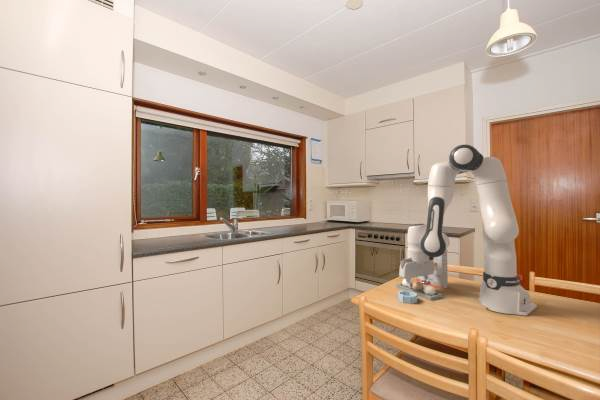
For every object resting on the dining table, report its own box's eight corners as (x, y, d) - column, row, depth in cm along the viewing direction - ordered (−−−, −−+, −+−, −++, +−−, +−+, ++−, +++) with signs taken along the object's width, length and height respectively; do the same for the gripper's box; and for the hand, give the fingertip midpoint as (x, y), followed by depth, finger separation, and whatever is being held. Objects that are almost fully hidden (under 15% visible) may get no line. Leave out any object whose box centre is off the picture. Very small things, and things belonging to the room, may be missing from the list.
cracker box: (415, 284, 146) (415, 245, 146) (421, 282, 150) (421, 244, 150) (442, 291, 135) (441, 249, 135) (448, 289, 139) (447, 248, 139)
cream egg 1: (407, 285, 141) (407, 276, 141) (415, 288, 137) (414, 278, 137) (400, 287, 139) (400, 277, 139) (407, 290, 135) (407, 280, 135)
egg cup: (406, 298, 127) (406, 289, 127) (421, 303, 120) (420, 294, 120) (393, 301, 123) (393, 292, 123) (407, 307, 116) (407, 297, 116)
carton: (407, 286, 143) (407, 282, 143) (443, 299, 124) (443, 294, 124) (395, 288, 140) (395, 284, 140) (430, 302, 121) (430, 297, 121)
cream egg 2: (428, 293, 129) (428, 283, 129) (437, 296, 125) (437, 286, 125) (421, 295, 127) (421, 284, 127) (430, 298, 123) (430, 287, 123)
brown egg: (417, 289, 135) (417, 279, 135) (426, 292, 131) (425, 282, 131) (410, 291, 133) (410, 281, 133) (418, 294, 129) (418, 283, 129)
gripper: (406, 260, 125) (406, 290, 125) (436, 256, 133) (436, 284, 134) (396, 257, 130) (396, 286, 131) (426, 253, 139) (425, 280, 139)
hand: (416, 285), depth 132 cm, fingers open, 8 cm apart
